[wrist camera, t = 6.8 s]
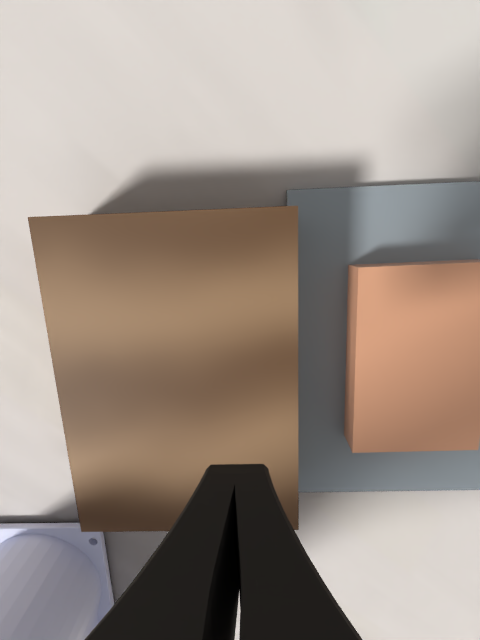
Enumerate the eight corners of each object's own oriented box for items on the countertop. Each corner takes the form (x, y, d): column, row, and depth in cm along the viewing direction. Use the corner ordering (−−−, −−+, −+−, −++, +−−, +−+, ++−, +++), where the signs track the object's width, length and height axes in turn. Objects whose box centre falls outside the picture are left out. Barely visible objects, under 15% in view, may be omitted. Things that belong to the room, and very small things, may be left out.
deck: (288, 472, 20) (298, 529, 16) (113, 474, 20) (81, 531, 16) (286, 213, 17) (298, 205, 13) (79, 221, 17) (27, 217, 13)
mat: (504, 484, 19) (510, 489, 19) (289, 487, 20) (289, 492, 20) (551, 179, 16) (559, 177, 15) (286, 190, 16) (287, 189, 16)
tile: (352, 452, 17) (343, 434, 19) (478, 449, 17) (459, 431, 18) (358, 267, 15) (348, 264, 17) (501, 261, 15) (477, 259, 16)
